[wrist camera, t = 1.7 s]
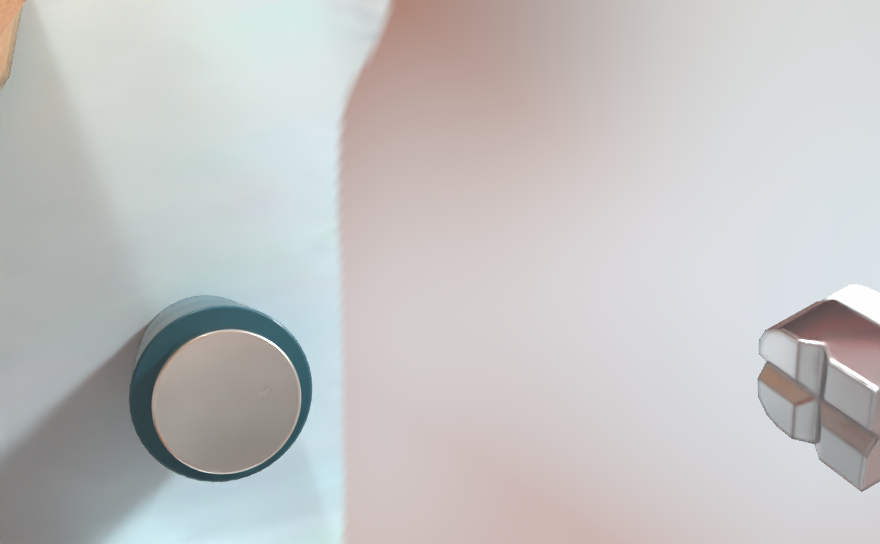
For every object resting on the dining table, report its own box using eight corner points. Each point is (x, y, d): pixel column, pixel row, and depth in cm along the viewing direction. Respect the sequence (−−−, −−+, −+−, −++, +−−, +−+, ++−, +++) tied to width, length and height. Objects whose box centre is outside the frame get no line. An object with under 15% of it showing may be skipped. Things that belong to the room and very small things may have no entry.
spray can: (288, 321, 32) (349, 345, 22) (241, 438, 32) (281, 519, 21) (168, 276, 31) (174, 279, 20) (115, 398, 30) (94, 464, 20)
